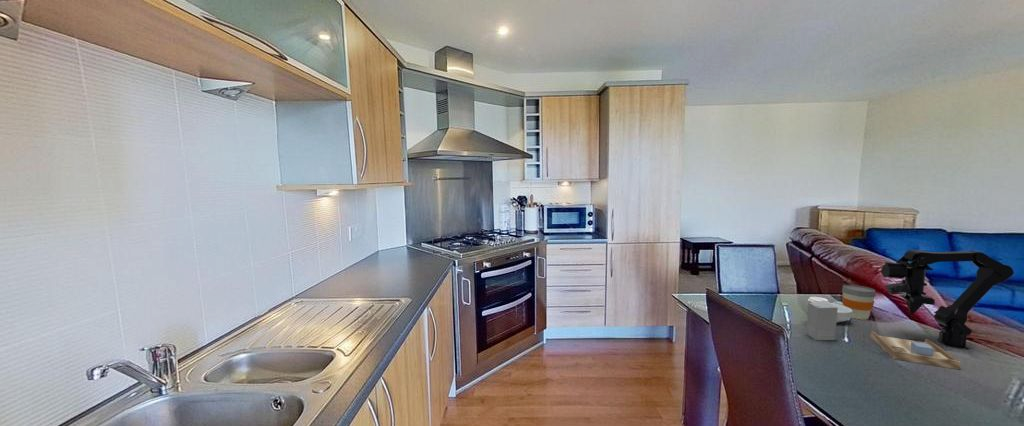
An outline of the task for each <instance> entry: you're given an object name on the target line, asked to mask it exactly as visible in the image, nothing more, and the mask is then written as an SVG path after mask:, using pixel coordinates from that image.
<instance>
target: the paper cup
mask: <svg viewBox="0 0 1024 426" xmlns="http://www.w3.org/2000/svg"><path fill="white" fill-rule="evenodd" d="M807 301H808V303H809V302H811V303H814V302H827V303H830V302H829V300H828V299H827V298H824V297H820V296H809V298H808V299H807Z"/></svg>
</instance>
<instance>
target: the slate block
mask: <svg viewBox="0 0 1024 426" xmlns="http://www.w3.org/2000/svg"><path fill="white" fill-rule="evenodd" d="M910 352H911V353H912V354H919V355H925V356H932V357H933V352H934V348H932V347H931V346H930V345H928V344H925V343H918V342H911V351H910Z"/></svg>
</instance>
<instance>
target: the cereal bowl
mask: <svg viewBox="0 0 1024 426" xmlns="http://www.w3.org/2000/svg"><path fill="white" fill-rule="evenodd" d="M829 303H830V304H832V305H834V306H836V307H837V308H838V310H837V322H836V324H837V323H840V322H845V321H849V320H850V319H851V318H852V317H851V316H852V312H853V311H852V310H851V309H850V308H848V307H846V306H844V305H843V304H842V305H841V304H839V303H835V302H829Z"/></svg>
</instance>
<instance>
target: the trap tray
mask: <svg viewBox="0 0 1024 426" xmlns="http://www.w3.org/2000/svg"><path fill="white" fill-rule="evenodd" d="M870 338H871V340H872V341H874V342H875V343H876V344H877V345H878V346H879V347H880V348H881V349H882V350H883V351H884V352H885V353H886V354H888V355H889V356H890V357H891V358H892V359H893V360H898V361H906V362H910V363H918V364H924V365H929V366H936V367H941V368H942V367H943V368H947V369H954V370H961V361H960V360H959V359H957V358H956V357H954V355H951V354H950V353H949V352H948V351H945V350H944V349H943V348H942V347H940V346H939V345H937V344H936V343H934V342H933V341H931V340H930V339H929V338H925V339H924V341H920V340H919V341H918V340H913V339H911V340H910V339H905V338H898V337H891V336H883V335H879V334H877V332H875V331H874V330H873V331H870ZM911 342H918V343H925V344H928V345H930V346H931V347H932V348H934V352H933V357H932V356H925V355H919V354H912V353H911V352H910V351H911Z"/></svg>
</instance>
